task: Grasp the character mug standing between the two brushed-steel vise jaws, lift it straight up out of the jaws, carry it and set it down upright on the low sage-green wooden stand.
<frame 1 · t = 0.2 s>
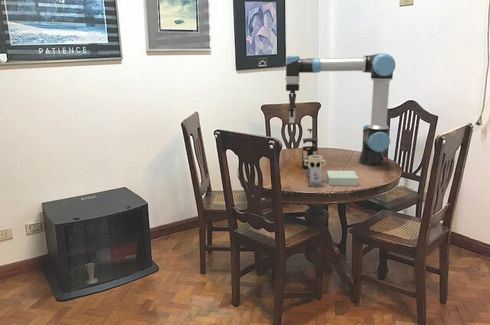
hand: (292, 121, 261), 28 cm above the table, fingers open, 13 cm apart
character mug: (314, 180, 240), on the table
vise: (314, 180, 240), on the table
stand: (341, 181, 237), on the table
french press: (309, 167, 267), on the table
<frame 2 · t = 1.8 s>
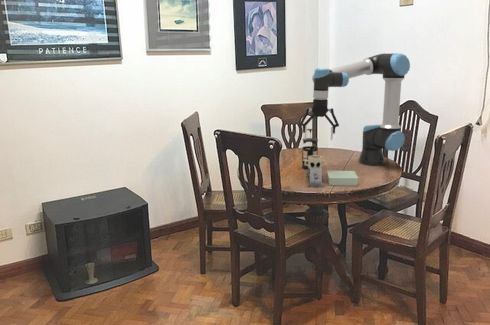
hand: (318, 139, 238), 21 cm above the table, fingers open, 13 cm apart
nothing on the table moved.
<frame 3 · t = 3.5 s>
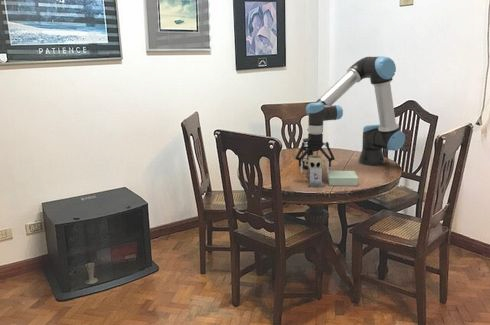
hand: (314, 172, 239), 4 cm above the table, fingers open, 13 cm apart
nothing on the table moved.
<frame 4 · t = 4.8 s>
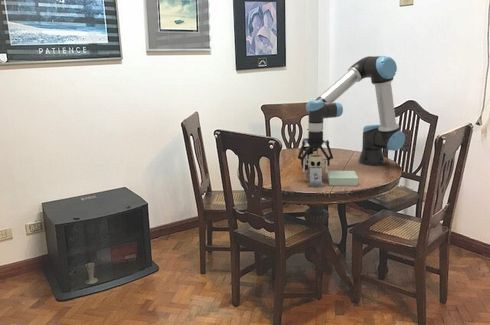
hand: (315, 171, 239), 5 cm above the table, fingers closed on character mug, 11 cm apart
character mug: (314, 179, 240), on the table, touching gripper
everything else where it was.
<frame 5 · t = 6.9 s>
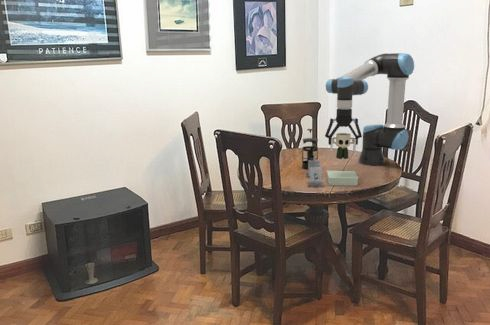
hand: (342, 150, 233), 16 cm above the table, fingers closed on character mug, 11 cm apart
character mug: (342, 159, 234), point 12 cm above the table, touching gripper
everything else where it was.
when the fingers open (9 cm above the table, at t = 8.7 s): character mug stays where it is, resting on stand.
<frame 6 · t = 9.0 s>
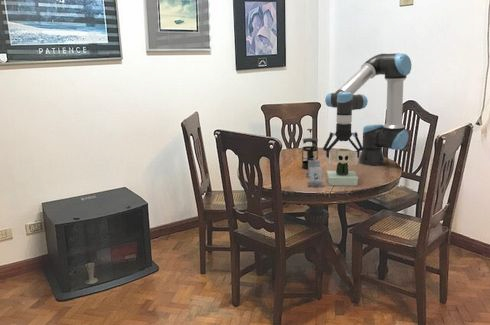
hand: (342, 163, 234), 10 cm above the table, fingers open, 13 cm apart
character mug: (342, 174, 236), point 4 cm above the table, touching stand
everything else where it was.
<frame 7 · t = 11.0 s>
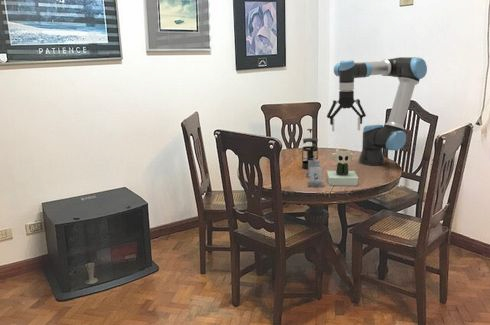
hand: (346, 130, 242), 25 cm above the table, fingers open, 13 cm apart
nothing on the table moved.
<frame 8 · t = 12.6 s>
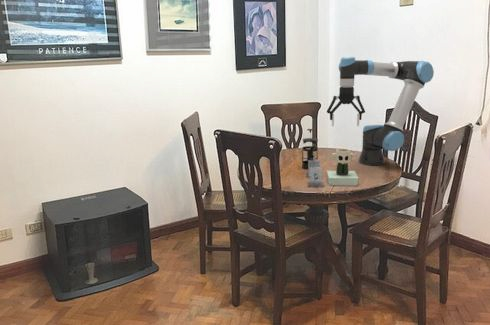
hand: (345, 126, 246), 27 cm above the table, fingers open, 13 cm apart
nothing on the table moved.
at the end: character mug inside the target area on the stand (0.1 cm from its centre), point 3.8 cm above the stand's base; character mug tilted 0°; the gripper is holding nothing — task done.
